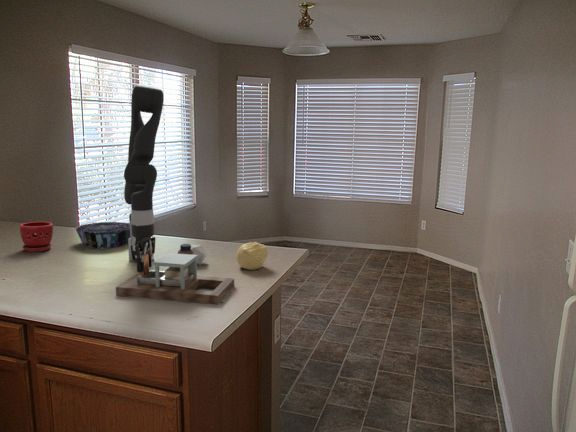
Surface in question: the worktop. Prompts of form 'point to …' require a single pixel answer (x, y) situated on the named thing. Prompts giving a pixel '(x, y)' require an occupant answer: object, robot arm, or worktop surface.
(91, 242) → the decorative bowl
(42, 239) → the plant pot
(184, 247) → the supplement bottle
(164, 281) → the slider
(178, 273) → the block
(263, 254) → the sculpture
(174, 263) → the tunnel
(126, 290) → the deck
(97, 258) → the worktop surface
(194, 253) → the die
